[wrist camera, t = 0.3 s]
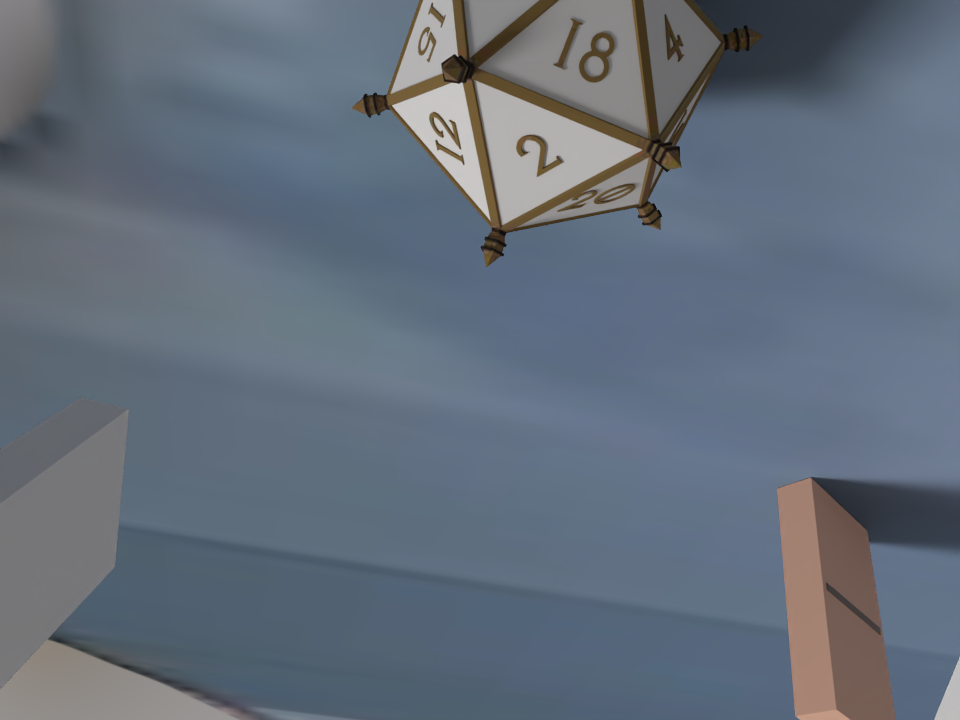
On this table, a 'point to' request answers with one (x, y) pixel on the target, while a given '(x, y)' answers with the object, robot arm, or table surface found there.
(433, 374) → the table surface
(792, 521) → the domino
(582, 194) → the game die
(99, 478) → the robot arm
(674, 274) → the table surface
